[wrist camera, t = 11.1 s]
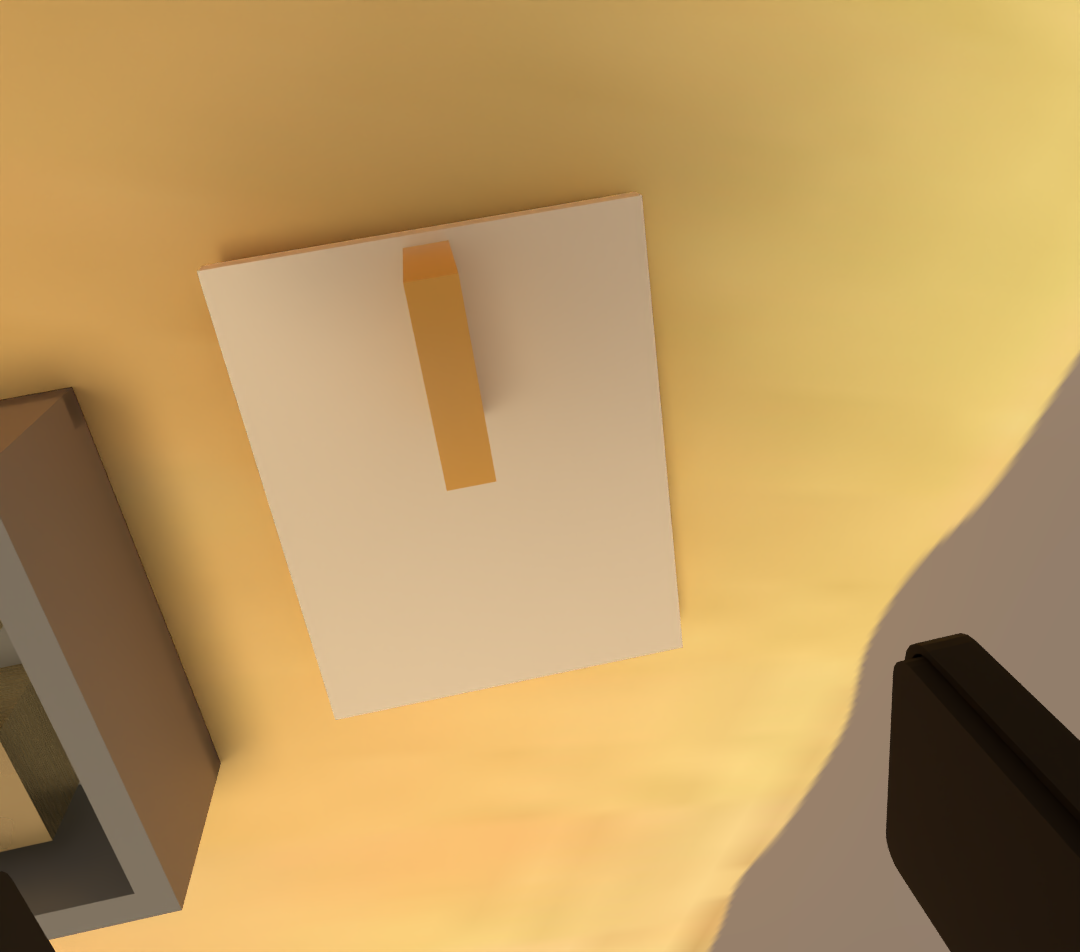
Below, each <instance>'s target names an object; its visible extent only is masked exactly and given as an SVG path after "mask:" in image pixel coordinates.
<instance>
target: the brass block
mask: <svg viewBox="0 0 1080 952" xmlns="http://www.w3.org/2000/svg"><path fill="white" fill-rule="evenodd" d="M79 782H80V781H79V779H78V777H77V775H76V773H75V771H74V769H73V767H72V765H71V763H70V760H69V758H68V756H67V754H66V752H65V750H64V748H63V746H62V744H61V742H60V740H59V738H58V736H57V734H56V732H55V730H54V728H53V726H52V724H51V722H50V720H49V718H48V716H47V714H46V712H45V710H44V707H43V705H42V703H41V701H40V699H39V697H38V695H37V693H36V691H35V689H34V687H33V685H32V683H31V681H30V679H29V677H28V675H27V673H26V671H25V669H24V667H23V665H22V664H17V665H12V666H7V667H3V668H0V852H2V851H7V850H11V849H16V848H21V847H25V846H30V845H34V844H39V843H44V842H48V841H53V838H54V836H55V834H56V832H57V830H58V828H59V825H60V823H61V821H62V819H63V817H64V815H65V812H66V810H67V808H68V806H69V804H70V802H71V799H72V797H73V795H74V793H75V791H76V789H77V786H78V784H79Z"/></svg>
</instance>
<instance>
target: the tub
mask: <svg viewBox="0 0 1080 952" xmlns="http://www.w3.org/2000/svg"><path fill="white" fill-rule="evenodd" d="M0 620H1V622H2V624H3V627H2V628H1V629H0V668H3V667H7V666H12V665H17V664H22V665H23V667H24V669H25V671H26V673H27V675H28V677H29V679H30V681H31V683H32V685H33V687H34V689H35V691H36V693H37V695H38V697H39V699H40V701H41V703H42V705H43V707H44V710H45V712H46V714H47V716H48V718H49V720H50V722H51V724H52V726H53V728H54V730H55V732H56V734H57V736H58V738H59V740H60V742H61V744H62V746H63V748H64V750H65V752H66V754H67V756H68V758H69V760H70V763H71V765H72V767H73V769H74V771H75V773H76V775H77V777H78V779H79V781H80V782H79V784H78V786H77V789H76V791H75V793H74V795H73V797H72V799H71V802H70V804H69V806H68V808H67V810H66V812H65V815H64V817H63V819H62V821H61V823H60V825H59V828H58V830H57V832H56V834H55V836H54V838H53V841H48V842H44V843H39V844H34V845H30V846H25V847H21V848H16V849H11V850H7V851H2V852H0V871H3V872H5V873H7V874H8V875H9V876H10V877H11V878H12V880H13V881H14V883H15V885H16V886H17V888H18V890H19V891H20V893H21V895H22V897H23V898H24V900H25V902H26V903H27V905H28V907H29V908H30V910H31V912H32V913H33V915H34V917H35V918H36V920H37V922H38V923H39V925H40V927H41V928H42V930H43V932H44V933H45V935H46V937H47V939H48V940H50V939H55V938H59V937H64V936H68V935H73V934H77V933H82V932H86V931H91V930H95V929H99V928H104V927H108V926H113V925H117V924H122V923H126V922H131V921H135V920H140V919H144V918H148V917H153V916H157V915H162V914H166V913H171V912H175V911H180V910H182V908H183V904H184V900H185V896H186V893H187V889H188V885H189V881H190V878H191V874H192V870H193V866H194V863H195V859H196V855H197V851H198V847H199V844H200V840H201V836H202V832H203V829H204V825H205V821H206V817H207V813H208V810H209V806H210V802H211V798H212V795H213V791H214V787H215V783H216V780H217V776H218V772H219V768H220V764H221V763H220V761H219V758H218V755H217V753H216V750H215V748H214V745H213V743H212V740H211V738H210V735H209V733H208V730H207V728H206V725H205V723H204V720H203V718H202V715H201V712H200V710H199V707H198V705H197V702H196V700H195V697H194V695H193V692H192V690H191V687H190V685H189V682H188V680H187V677H186V674H185V672H184V669H183V667H182V664H181V662H180V659H179V657H178V654H177V652H176V649H175V647H174V644H173V642H172V639H171V637H170V634H169V631H168V629H167V626H166V624H165V621H164V619H163V616H162V614H161V611H160V609H159V606H158V604H157V601H156V599H155V596H154V593H153V591H152V588H151V586H150V583H149V581H148V578H147V576H146V573H145V571H144V568H143V566H142V563H141V561H140V558H139V556H138V553H137V550H136V548H135V545H134V543H133V540H132V538H131V535H130V533H129V530H128V528H127V525H126V523H125V520H124V518H123V515H122V513H121V510H120V507H119V505H118V502H117V500H116V497H115V495H114V492H113V490H112V487H111V485H110V482H109V480H108V477H107V475H106V472H105V469H104V467H103V464H102V462H101V459H100V457H99V454H98V452H97V449H96V447H95V444H94V442H93V439H92V437H91V434H90V432H89V429H88V426H87V424H86V421H85V419H84V416H83V414H82V411H81V409H80V406H79V404H78V401H77V399H76V396H75V394H74V391H73V388H72V387H70V388H65V389H59V390H54V391H48V392H43V393H37V394H32V395H26V396H21V397H15V398H10V399H4V400H0Z"/></svg>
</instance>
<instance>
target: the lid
mask: <svg viewBox="0 0 1080 952" xmlns="http://www.w3.org/2000/svg"><path fill="white" fill-rule="evenodd" d="M197 274H198V277H199V280H200V284H201V287H202V290H203V293H204V297H205V300H206V303H207V306H208V309H209V313H210V316H211V319H212V322H213V326H214V329H215V332H216V335H217V339H218V342H219V345H220V348H221V352H222V355H223V358H224V361H225V364H226V368H227V371H228V374H229V377H230V381H231V384H232V387H233V390H234V394H235V397H236V400H237V403H238V407H239V410H240V413H241V416H242V419H243V423H244V426H245V429H246V432H247V436H248V439H249V442H250V445H251V449H252V452H253V455H254V458H255V462H256V465H257V468H258V471H259V474H260V478H261V481H262V484H263V487H264V491H265V494H266V497H267V500H268V504H269V507H270V510H271V513H272V517H273V520H274V523H275V526H276V529H277V533H278V536H279V539H280V542H281V546H282V549H283V552H284V555H285V559H286V562H287V565H288V568H289V572H290V575H291V578H292V581H293V584H294V588H295V591H296V594H297V597H298V601H299V604H300V607H301V610H302V614H303V617H304V620H305V623H306V626H307V630H308V633H309V636H310V639H311V643H312V646H313V649H314V652H315V656H316V659H317V662H318V665H319V669H320V672H321V675H322V678H323V681H324V685H325V688H326V691H327V694H328V698H329V701H330V704H331V707H332V711H333V714H334V717H335V720H338V719H343V718H348V717H352V716H357V715H362V714H367V713H371V712H376V711H381V710H386V709H391V708H395V707H400V706H405V705H410V704H414V703H419V702H424V701H429V700H434V699H438V698H443V697H448V696H453V695H457V694H462V693H467V692H472V691H477V690H481V689H486V688H491V687H496V686H500V685H505V684H510V683H515V682H520V681H524V680H529V679H534V678H539V677H543V676H548V675H553V674H558V673H563V672H567V671H572V670H577V669H582V668H586V667H591V666H596V665H601V664H606V663H610V662H615V661H620V660H625V659H629V658H634V657H639V656H644V655H649V654H653V653H658V652H663V651H668V650H673V649H677V648H682V647H683V644H682V633H681V622H680V611H679V600H678V589H677V578H676V567H675V556H674V545H673V534H672V523H671V511H670V500H669V489H668V478H667V467H666V456H665V445H664V434H663V423H662V412H661V401H660V390H659V378H658V367H657V356H656V345H655V334H654V323H653V312H652V301H651V290H650V279H649V268H648V257H647V245H646V234H645V223H644V212H643V201H642V195H641V194H639V193H636V192H630V193H624V194H618V195H612V196H606V197H600V198H595V199H589V200H583V201H577V202H571V203H565V204H559V205H554V206H548V207H542V208H536V209H530V210H524V211H518V212H513V213H507V214H501V215H495V216H489V217H483V218H477V219H471V220H466V221H460V222H454V223H448V224H442V225H436V226H430V227H425V228H419V229H413V230H407V231H401V232H395V233H389V234H384V235H378V236H372V237H366V238H360V239H354V240H348V241H343V242H337V243H331V244H325V245H319V246H313V247H307V248H302V249H296V250H290V251H284V252H278V253H272V254H266V255H261V256H255V257H249V258H243V259H237V260H231V261H225V262H219V263H214V264H208V265H203V266H202V267H201V268H200V269H199V270H197Z"/></svg>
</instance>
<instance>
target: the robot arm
mask: <svg viewBox="0 0 1080 952" xmlns="http://www.w3.org/2000/svg"><path fill="white" fill-rule="evenodd" d="M888 779H889V780H888V802H887V823H886V839H887V844H888V848H889V851H890V854H891V857H892V859H893V862H894V864H895V866H896V868H897V869H898V871H899V873H900V874H901V876H902V877H903V879H904V880H905V882H906V884H907V885H908V886H909V888H910V890H911V891H912V893H913V894H914V896H915V897H916V899H917V900H918V902H919V904H920V905H921V906H922V908H923V909H924V911H925V913H926V914H927V916H928V917H929V919H930V920H931V922H932V924H933V925H934V927H935V928H936V930H937V931H938V933H939V934H940V936H941V938H942V939H943V941H944V942H945V944H946V945H947V947H948V948H949V950H950V951H951V952H1080V740H1079V739H1077V738H1076V737H1075V736H1074V735H1073V734H1072V733H1071V732H1070V731H1069V730H1068V729H1067V728H1066V727H1065V726H1064V725H1063V724H1062V723H1061V722H1060V721H1059V720H1058V719H1056V718H1055V716H1053V715H1052V714H1051V713H1050V712H1049V711H1048V710H1047V709H1046V708H1045V707H1044V706H1043V705H1042V704H1041V703H1040V702H1039V701H1038V700H1037V699H1036V698H1035V697H1034V696H1033V695H1031V693H1030V692H1028V691H1027V690H1026V689H1025V688H1024V687H1023V686H1022V685H1021V684H1020V683H1019V682H1018V681H1017V680H1016V679H1015V678H1014V677H1013V676H1012V675H1011V674H1010V673H1009V672H1008V671H1007V670H1006V669H1004V668H1003V667H1002V666H1001V665H1000V664H999V663H998V662H997V661H996V660H995V659H994V658H993V657H992V656H991V655H990V654H989V653H988V652H987V651H985V649H984V648H982V646H981V645H979V644H978V643H977V642H976V641H975V640H974V639H973V638H971V637H970V636H968V635H966V634H962V633H959V634H955V635H951V636H946V637H942V638H938V639H933V640H929V641H925V642H920V643H916V644H913V645H910V646H909V648H908V649H907V651H906V656H905V660H904V661H900V662H897V663H896V665H895V666H894V671H893V689H892V713H891V734H890V757H889V778H888ZM0 952H55V950H54V949H53V947H52V945H51V944H50V942H49V940H48V939H47V937H46V935H45V933H44V932H43V930H42V928H41V927H40V925H39V923H38V922H37V920H36V918H35V917H34V915H33V913H32V912H31V910H30V908H29V907H28V905H27V903H26V902H25V900H24V898H23V897H22V895H21V893H20V891H19V890H18V888H17V886H16V885H15V883H14V881H13V880H12V878H11V877H10V876H9V875H8V874H7V873H5V872H3V871H0Z"/></svg>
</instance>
